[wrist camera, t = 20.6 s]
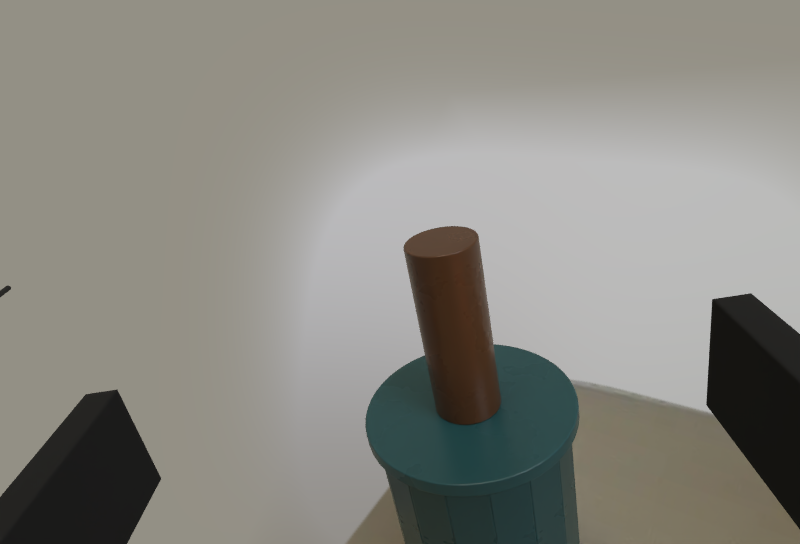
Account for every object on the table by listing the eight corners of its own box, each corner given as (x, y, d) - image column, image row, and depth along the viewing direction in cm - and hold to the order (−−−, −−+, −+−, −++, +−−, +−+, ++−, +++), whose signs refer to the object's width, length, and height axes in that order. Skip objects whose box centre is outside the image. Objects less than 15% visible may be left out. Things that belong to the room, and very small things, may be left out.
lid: (355, 396, 28) (310, 234, 24) (522, 345, 29) (504, 183, 25) (397, 542, 20) (339, 331, 16) (626, 462, 21) (621, 249, 17)
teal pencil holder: (407, 561, 32) (361, 388, 27) (537, 515, 34) (517, 341, 28) (453, 714, 25) (401, 517, 20) (617, 648, 26) (609, 446, 21)
